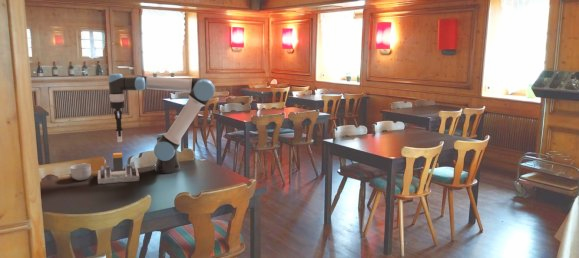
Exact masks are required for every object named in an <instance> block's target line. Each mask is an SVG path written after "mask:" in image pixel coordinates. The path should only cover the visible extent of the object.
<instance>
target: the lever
mask: <svg viewBox="0 0 579 258" xmlns="http://www.w3.org/2000/svg"><path fill="white" fill-rule="evenodd" d="M123 163H124V162H123V152H115V153H114V152H113V153H112V164H113V168H110V170H111V172H115V171H126V167H124V166H123Z"/></svg>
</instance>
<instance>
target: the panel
mask: <svg viewBox="0 0 579 258" xmlns="http://www.w3.org/2000/svg"><path fill="white" fill-rule="evenodd" d="M110 167H111V166H110V165H105V169H104V174H105V178H101V169H99V170H97V184H98V185H103V184H114V183H115V184H116V183H117V184H118V183H129V182H139V181H140V174H139V170H138V167H135V169H136V175H132V170H131V163H128V164H125V169H126V171H115V172H111V168H110Z"/></svg>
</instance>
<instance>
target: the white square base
mask: <svg viewBox="0 0 579 258" xmlns="http://www.w3.org/2000/svg"><path fill="white" fill-rule="evenodd" d="M130 168H131V170H132V175H136V169H135V168H136V166H135V161H131V163H130ZM100 170H101V178H105V174H104V170H105V166H104V165H101V166H100Z"/></svg>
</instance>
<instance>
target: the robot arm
mask: <svg viewBox="0 0 579 258" xmlns="http://www.w3.org/2000/svg"><path fill="white" fill-rule="evenodd" d="M108 88H109V95H108V98H109V101H110V102H109V103H110V104H109V105H110V108H111V109H112V110H113V109H114V118H115V123H116V125H115V126H116V129H115V131H116V138H117V139H116V141H117V143H122V142H123V128H122V119H123V116H122V115H123V112H122V110H121V109H124V108H125V93H124V92H125V91H139V92H140V91H144V90H159V91H170V92H171V91H172V92H181V93H182V92H183V93H188V100H186V101H187V102H186V103H185V105H184V106H183V107H182V109H181V111H180V112H179V114H178V116H177V117H176V118H175V120H174V121H173V123H172V124H171V126H170V127H169V129H168V130H167V132H164V133H159V134H156V144H155V146H154V148H153V152H154V153H153V154H154V156H155V158H156V161H155V165H154V172H156V173H159V174H172V173H173V174H174V173H176V172H179V171H180V170H181V166H180V163H179V160H178V153H177V151H178V148H179V147H180V146H181V140H182V138H183V136H184V135H185V133H186V132H187V130H188V129H189V127H190V125H191V124H192V123H193V121H194V120H195V118H196V116H197V114H199V112H200V110H201V109H202V108H203V107H206V106H207V105H208V103H209V101H210V100H211V99H213V96H214V95H215V92H216V90H215V89H216V88H215V85H214V83H213V81H212V80H211V79H209V78H207V77H203V78H202V77H200V78H198V77H197V78H195V77H194V78H193V77H192V78H191V77H190V79H184V78H171V77H158V76H150V75H149V76H146V75H138V74H136V75H133V76H129V77H126V76H125V77H124V76H123V73H110V74H109V75H108Z"/></svg>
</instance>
